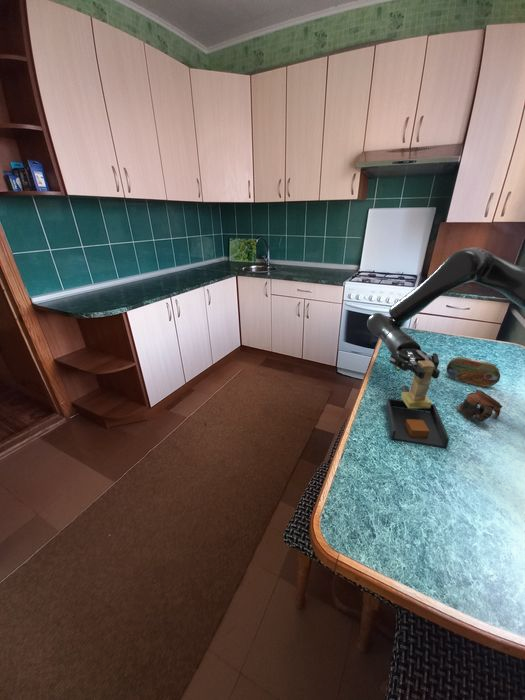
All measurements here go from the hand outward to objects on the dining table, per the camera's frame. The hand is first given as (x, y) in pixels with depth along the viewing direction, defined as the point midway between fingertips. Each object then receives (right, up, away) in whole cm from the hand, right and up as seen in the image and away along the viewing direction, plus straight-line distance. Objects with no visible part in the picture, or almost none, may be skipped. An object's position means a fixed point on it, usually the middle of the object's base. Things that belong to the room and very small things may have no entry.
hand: (430, 375), depth 75 cm
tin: (+29, -5, +27) cm, 40 cm away
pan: (+1, -13, +12) cm, 17 cm away
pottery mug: (+20, -13, +11) cm, 26 cm away
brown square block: (-1, -16, +4) cm, 16 cm away
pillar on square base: (0, -8, +8) cm, 11 cm away
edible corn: (+13, +3, +41) cm, 44 cm away
